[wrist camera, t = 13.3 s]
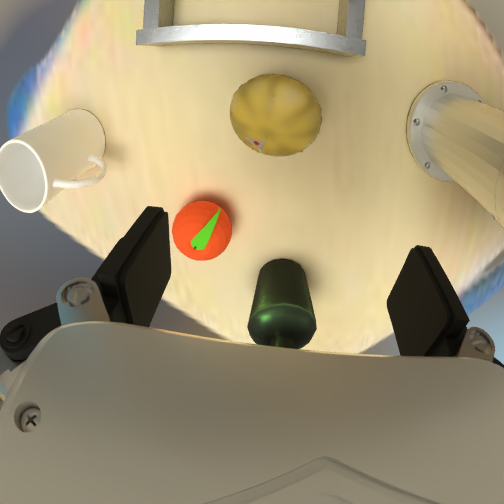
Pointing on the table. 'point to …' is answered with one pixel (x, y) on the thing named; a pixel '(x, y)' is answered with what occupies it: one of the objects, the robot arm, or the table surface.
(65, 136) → the mug
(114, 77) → the table surface
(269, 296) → the potion bottle
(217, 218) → the clementine
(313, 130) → the burger with flag pick
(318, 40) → the frame
